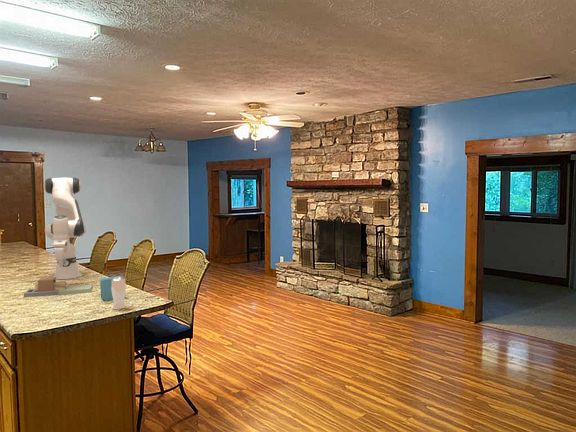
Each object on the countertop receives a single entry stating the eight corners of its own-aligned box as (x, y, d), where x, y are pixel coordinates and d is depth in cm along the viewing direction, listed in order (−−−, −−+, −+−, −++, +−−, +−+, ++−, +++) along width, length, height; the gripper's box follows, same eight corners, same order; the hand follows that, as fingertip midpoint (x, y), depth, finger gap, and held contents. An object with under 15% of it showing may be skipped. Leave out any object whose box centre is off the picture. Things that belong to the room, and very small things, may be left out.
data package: (122, 296, 256) (122, 275, 255) (125, 298, 252) (124, 277, 252) (100, 299, 249) (100, 278, 248) (103, 301, 245) (102, 279, 244)
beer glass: (128, 306, 234) (127, 277, 234) (123, 309, 227) (122, 280, 227) (114, 306, 234) (113, 277, 233) (109, 309, 227) (108, 280, 226)
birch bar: (36, 289, 266) (36, 283, 266) (66, 287, 271) (66, 281, 271) (35, 291, 262) (34, 284, 262) (65, 289, 267) (65, 282, 267)
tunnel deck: (29, 292, 269) (28, 277, 268) (92, 287, 280) (91, 274, 279) (23, 297, 256) (23, 282, 256) (90, 292, 267) (89, 277, 267)
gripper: (58, 241, 276) (59, 263, 276) (52, 244, 256) (53, 268, 257) (69, 240, 278) (70, 263, 278) (64, 244, 258) (65, 267, 259)
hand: (62, 265), depth 268 cm, fingers open, 8 cm apart
